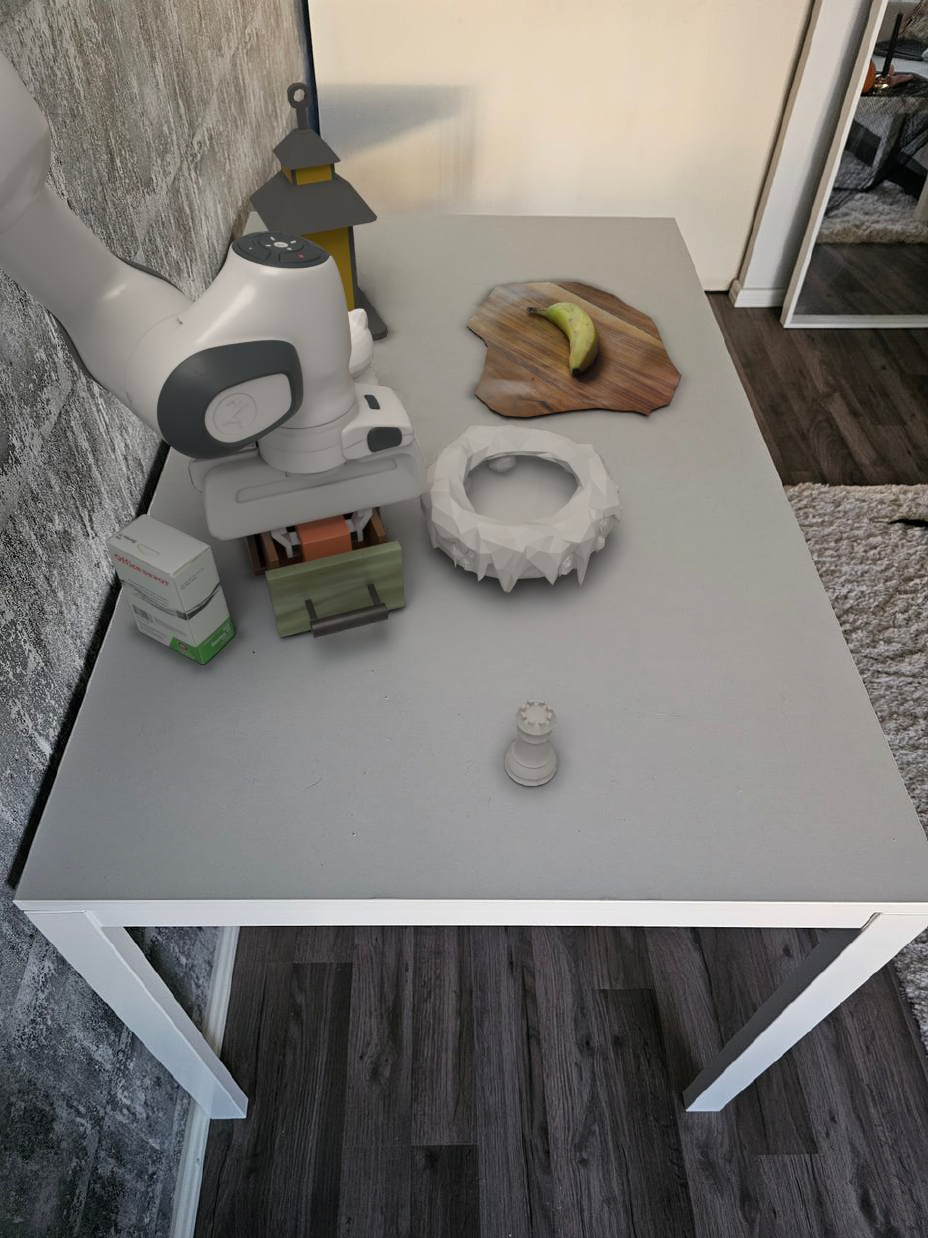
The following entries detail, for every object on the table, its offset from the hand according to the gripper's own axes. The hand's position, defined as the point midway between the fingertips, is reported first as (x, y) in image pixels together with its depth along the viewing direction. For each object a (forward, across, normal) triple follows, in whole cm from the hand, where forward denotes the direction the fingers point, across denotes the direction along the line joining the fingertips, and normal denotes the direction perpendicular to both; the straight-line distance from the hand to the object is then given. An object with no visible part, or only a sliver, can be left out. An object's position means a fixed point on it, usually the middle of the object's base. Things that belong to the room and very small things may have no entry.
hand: (324, 545), depth 87 cm
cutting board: (+6, +41, +34) cm, 54 cm away
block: (+2, 0, 0) cm, 2 cm away
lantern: (+6, +12, +51) cm, 52 cm away
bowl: (+6, +20, 0) cm, 21 cm away
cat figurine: (+6, +9, +29) cm, 31 cm away
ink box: (+6, -14, -1) cm, 16 cm away
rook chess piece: (+6, +11, -26) cm, 29 cm away
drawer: (+5, 0, -1) cm, 5 cm away
